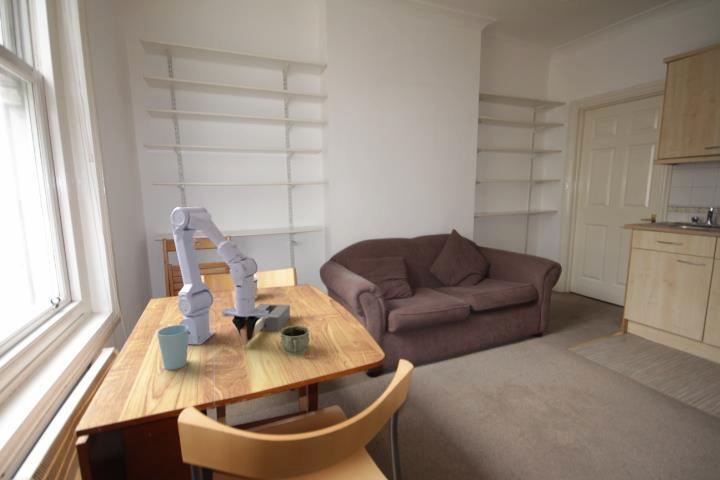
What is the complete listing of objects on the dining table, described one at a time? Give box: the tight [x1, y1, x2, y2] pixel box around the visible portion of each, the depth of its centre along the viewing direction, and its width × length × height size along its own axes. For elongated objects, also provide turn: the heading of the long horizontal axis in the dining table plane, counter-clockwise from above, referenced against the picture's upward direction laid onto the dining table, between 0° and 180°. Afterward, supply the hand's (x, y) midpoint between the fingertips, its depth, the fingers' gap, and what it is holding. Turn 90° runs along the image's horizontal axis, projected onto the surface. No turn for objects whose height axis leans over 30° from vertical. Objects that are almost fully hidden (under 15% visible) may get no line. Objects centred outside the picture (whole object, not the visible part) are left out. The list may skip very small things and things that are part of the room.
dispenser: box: [246, 303, 291, 332], centre depth 124 cm, size 14×12×6 cm
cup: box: [156, 324, 189, 371], centre depth 93 cm, size 8×8×10 cm
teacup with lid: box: [254, 276, 259, 300], centre depth 153 cm, size 12×9×12 cm
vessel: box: [280, 325, 310, 356], centre depth 103 cm, size 12×9×6 cm
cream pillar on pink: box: [239, 318, 266, 346], centre depth 113 cm, size 20×2×5 cm, turn 175°
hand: (246, 338), depth 105 cm, fingers closed on cream pillar on pink, 2 cm apart
